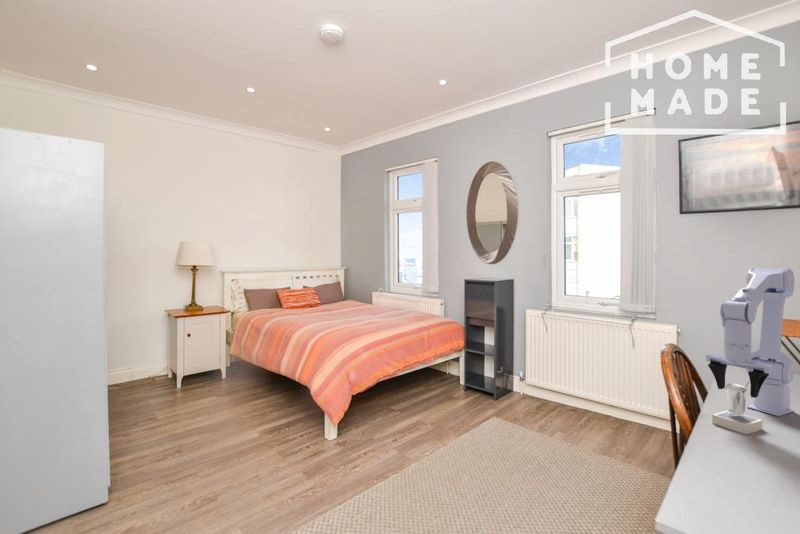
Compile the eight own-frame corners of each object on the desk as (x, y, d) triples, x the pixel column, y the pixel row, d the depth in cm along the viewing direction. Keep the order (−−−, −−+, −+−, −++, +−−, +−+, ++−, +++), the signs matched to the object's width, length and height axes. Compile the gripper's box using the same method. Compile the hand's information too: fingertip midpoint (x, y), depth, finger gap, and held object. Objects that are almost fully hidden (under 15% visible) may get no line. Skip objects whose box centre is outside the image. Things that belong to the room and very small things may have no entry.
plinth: (728, 418, 113) (728, 409, 113) (762, 429, 106) (762, 419, 106) (712, 423, 110) (712, 414, 110) (746, 434, 103) (746, 424, 103)
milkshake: (754, 420, 106) (754, 384, 105) (732, 419, 106) (732, 383, 106) (742, 414, 110) (743, 379, 110) (721, 413, 111) (721, 378, 111)
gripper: (700, 340, 113) (699, 386, 113) (763, 350, 100) (762, 403, 100) (713, 338, 116) (713, 383, 116) (776, 348, 103) (776, 399, 103)
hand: (737, 392), depth 108 cm, fingers open, 7 cm apart
